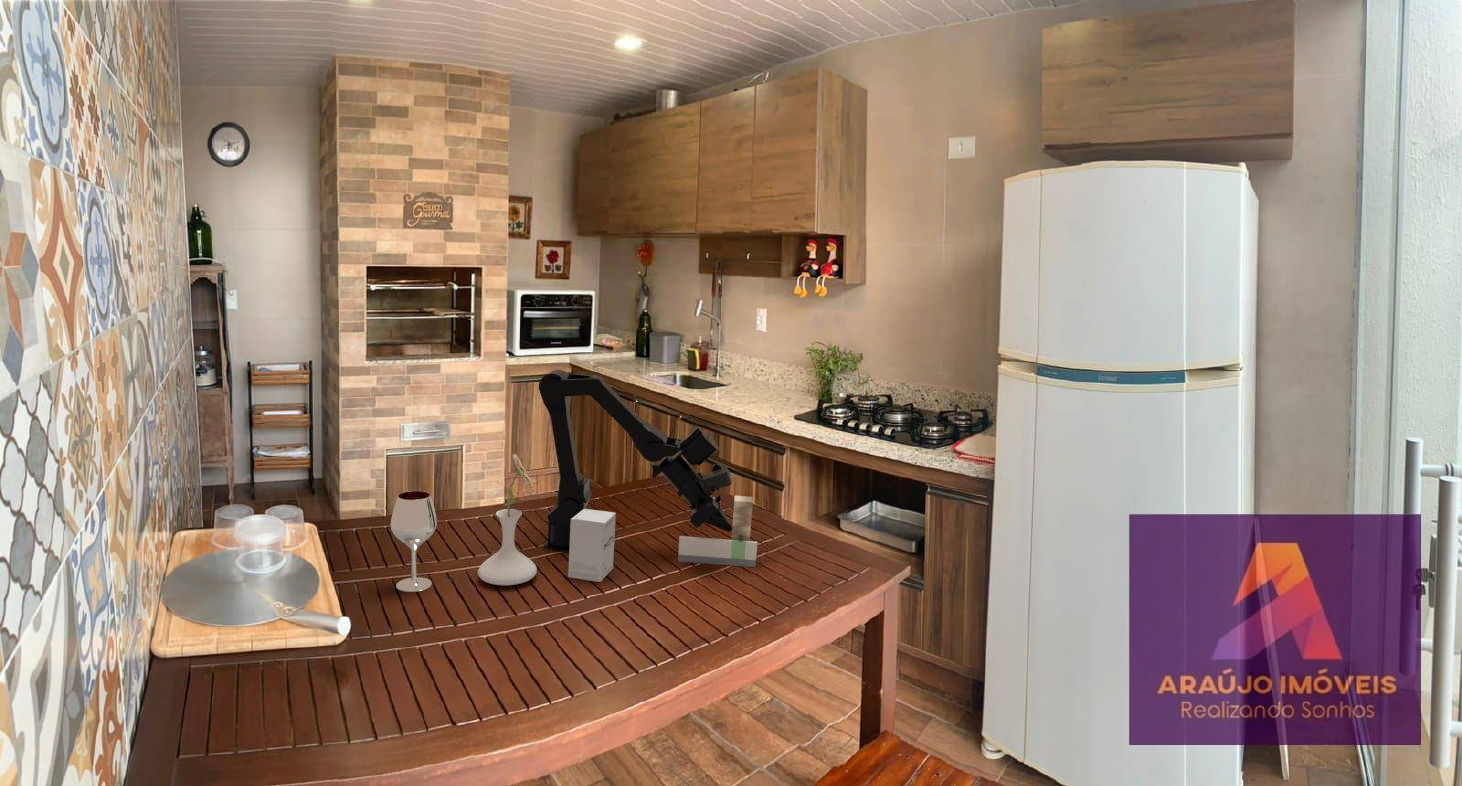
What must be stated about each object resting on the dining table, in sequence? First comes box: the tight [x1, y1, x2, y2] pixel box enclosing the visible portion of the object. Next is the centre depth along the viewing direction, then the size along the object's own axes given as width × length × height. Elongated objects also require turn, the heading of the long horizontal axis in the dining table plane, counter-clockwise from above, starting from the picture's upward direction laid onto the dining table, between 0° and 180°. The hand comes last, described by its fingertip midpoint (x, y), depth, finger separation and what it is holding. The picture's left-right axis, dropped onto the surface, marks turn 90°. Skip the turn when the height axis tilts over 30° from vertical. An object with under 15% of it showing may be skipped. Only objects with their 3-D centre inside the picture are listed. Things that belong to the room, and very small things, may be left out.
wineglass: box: [390, 490, 438, 593], centre depth 153 cm, size 8×8×18 cm
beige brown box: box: [730, 495, 754, 541], centre depth 177 cm, size 5×6×12 cm
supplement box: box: [567, 508, 617, 583], centre depth 165 cm, size 7×7×13 cm
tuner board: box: [677, 535, 758, 568], centre depth 179 cm, size 17×8×6 cm, turn 90°
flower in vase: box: [477, 453, 538, 586], centre depth 159 cm, size 13×11×25 cm
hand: (730, 530), depth 179 cm, fingers closed, pressing on beige brown box
